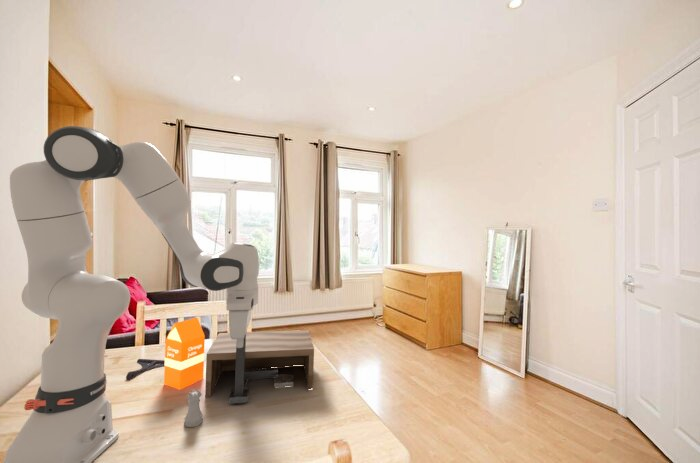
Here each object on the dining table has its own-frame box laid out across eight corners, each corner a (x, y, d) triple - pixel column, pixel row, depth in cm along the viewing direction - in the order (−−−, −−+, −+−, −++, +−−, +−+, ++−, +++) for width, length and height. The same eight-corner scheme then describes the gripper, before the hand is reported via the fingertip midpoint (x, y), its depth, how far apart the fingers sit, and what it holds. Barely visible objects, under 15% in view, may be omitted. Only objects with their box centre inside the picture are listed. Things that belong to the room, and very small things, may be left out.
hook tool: (277, 399, 94) (279, 331, 95) (228, 403, 91) (231, 333, 92) (277, 375, 112) (279, 318, 113) (237, 377, 109) (239, 319, 110)
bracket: (107, 380, 106) (107, 371, 106) (140, 362, 121) (140, 355, 121) (148, 383, 105) (148, 375, 105) (176, 365, 120) (176, 357, 120)
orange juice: (163, 384, 103) (165, 321, 104) (187, 373, 111) (189, 315, 112) (180, 389, 100) (182, 325, 100) (203, 378, 108) (205, 318, 108)
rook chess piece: (184, 419, 84) (185, 389, 85) (203, 416, 86) (204, 386, 86) (182, 429, 80) (183, 397, 80) (202, 426, 82) (203, 394, 82)
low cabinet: (312, 389, 103) (314, 348, 103) (205, 397, 96) (206, 353, 96) (307, 364, 122) (308, 330, 122) (218, 369, 115) (219, 333, 116)
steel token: (293, 388, 104) (293, 382, 104) (274, 389, 103) (274, 383, 103) (292, 379, 110) (293, 374, 110) (274, 380, 109) (275, 374, 109)
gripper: (236, 291, 105) (234, 334, 105) (225, 305, 85) (223, 358, 85) (256, 291, 106) (255, 333, 106) (250, 305, 86) (248, 357, 86)
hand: (241, 344), depth 95 cm, fingers closed on hook tool, 2 cm apart
